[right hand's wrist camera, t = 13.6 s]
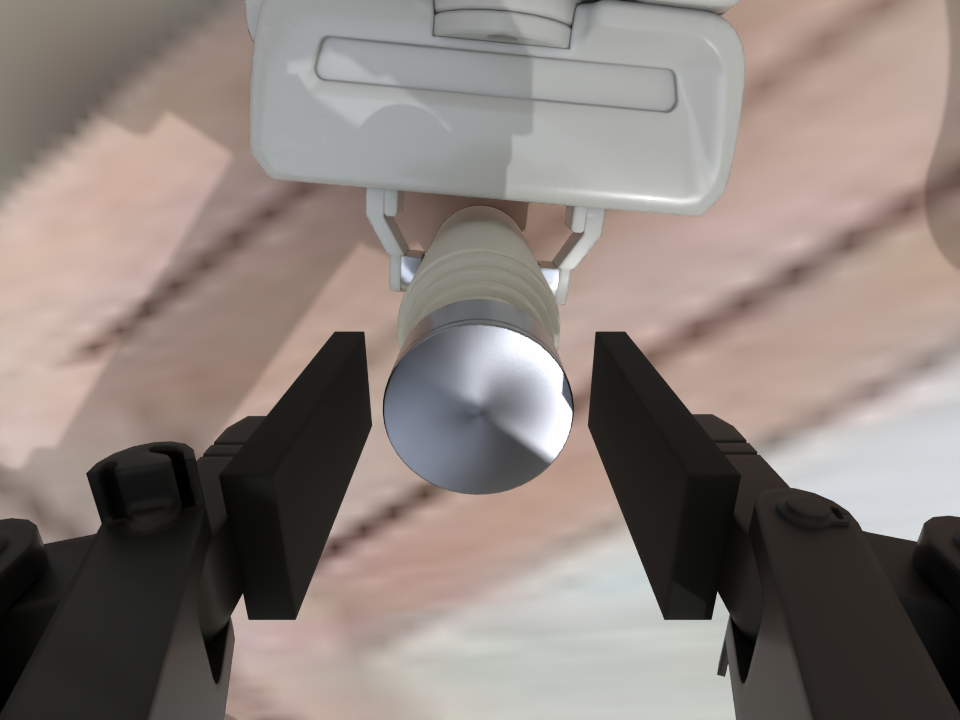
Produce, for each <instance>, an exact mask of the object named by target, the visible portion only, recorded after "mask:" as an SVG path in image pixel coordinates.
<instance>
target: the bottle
mask: <svg viewBox="0 0 960 720" xmlns="http://www.w3.org/2000/svg"><path fill="white" fill-rule="evenodd" d="M469 299H486V300H494V301H499V302H503V303H506V304H509V305H512V306H514V307H516V308H518V309H520V310H522V311H524V312H525V313H527V314H528V315H530V316H531V317H533V318H534V319H535V320H536V321H537V322H538V323H539V324H540V325H541V326H542V327H543V328H544V329H545V331H546V332H547V333H548V335H549V336H550V338H551V340H552V341H553V343H554V345H555V348H556V350H557V351H558V346H559V338H560V317H559V310H558V306H557V302H556V299H555V297H554V295H553V292H552V290H551V288H550V286H549V284H548V282H547V281H546V279H545V277H544V275H543V273H542V271H541V269H540V267H539V265H538V263H537V261H536V259H535V257H534V255H533V253H532V251H531V249H530V247H529V246H528V244H527V242H526V240H525V238H524V236H523V234H522V232H521V230H520V228H519V227H518V225H517V224H516V223H515V221H514V220H513V219H512V218H511V217H509V216H508V215H507V214H505V213H504V212H502V211H500V210H498V209H495V208H493V207H488V206H471V207H467V208H464V209H461V210H459V211H457V212H455V213H454V214H452V215H451V216H450V217H449V218H447V219H446V221H445V222H444V223H443V224H442V225H441V227H440V229H439V230H438V232H437V234H436V236H435V238H434V240H433V241H432V243H431V245H430V247H429V249H428V251H427V253H426V255H425V256H424V258H423V260H422V262H421V264H420V266H419V268H418V269H417V271H416V273H415V275H414V277H413V279H412V281H411V283H410V284H409V286H408V288H407V290H406V292H405V294H404V296H403V299H402V302H401V305H400V310H399V315H398V339H399V347H400V350H401V347H402V345H403V343H404V341H405V339H406V338H407V336H408V335H409V333H410V332H411V330H412V329H413V328H414V327H415V326H416V325H417V324H418V323H419V322H420V321H421V320H422V319H423V318H425V317H426V316H427V315H429V314H430V313H432V312H433V311H435V310H437V309H439V308H441V307H443V306H445V305H448V304H451V303H454V302H457V301H463V300H469Z"/></svg>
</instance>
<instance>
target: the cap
mask: <svg viewBox="0 0 960 720" xmlns="http://www.w3.org/2000/svg"><path fill="white" fill-rule="evenodd" d="M573 412H574V404H573V396H572V391H571V387H570V384H569V381H568V378H567V376H566V373H565V371H564V368H563V365H562V363H561V360H560V358H559V355H558V352H557V350H556V348H555V345H554V343H553V341H552V340H551V338H550V336H549V335H548V333H547V332H546V331H545V329H544V328H543V327H542V326H541V325H540V324H539V323H538V322H537V321H536V320H535V319H534V318H533V317H531V316H530V315H528V314H527V313H525V312H524V311H522V310H520V309H518V308H516V307H514V306H512V305H509V304H506V303H503V302H499V301H494V300H486V299H469V300H463V301H457V302H454V303H451V304H448V305H445V306H443V307H441V308H439V309H437V310H435V311H433V312H432V313H430V314H429V315H427V316H426V317H425V318H423V319H422V320H421V321H420V322H419V323H418V324H417V325H416V326H415V327H414V328H413V329H412V330H411V332H410V333H409V335H408V336H407V338H406V339H405V341H404V343H403V345H402V347H401V350H400V352H399V355H398V357H397V360H396V362H395V365H394V367H393V369H392V372H391V375H390V377H389V380H388V383H387V386H386V389H385V393H384V399H383V417H384V424H385V428H386V432H387V435H388V437H389V440H390V442H391V444H392V446H393V448H394V449H395V451H396V453H397V454H398V456H399V457H400V458H401V459H402V461H403V462H404V463H405V464H406V465H407V466H408V467H409V468H410V469H411V470H412V471H413V472H415V473H416V474H417V475H419V476H420V477H421V478H423V479H425V480H426V481H428V482H430V483H431V484H434V485H436V486H438V487H441V488H443V489H446V490H450V491H453V492H458V493H463V494H475V495H479V494H493V493H499V492H503V491H507V490H511V489H513V488H516V487H519V486H521V485H523V484H525V483H527V482H529V481H531V480H532V479H534V478H535V477H537V476H538V475H540V474H541V473H542V472H543V471H544V470H546V469H547V468H548V467H549V466H550V465H551V464H552V463H553V461H554V460H555V459H556V458H557V457H558V455H559V454H560V452H561V451H562V449H563V447H564V445H565V443H566V441H567V439H568V437H569V434H570V430H571V427H572V421H573Z"/></svg>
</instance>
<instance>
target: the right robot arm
mask: <svg viewBox="0 0 960 720" xmlns="http://www.w3.org/2000/svg"><path fill="white" fill-rule="evenodd" d="M371 427H372V419H371V407H370V395H369V383H368V371H367V359H366V347H365V334H364V332H334V333H333V335H332V336H331V337H330V338H329V340H328V341H327V342H326V343H325V345H324V346H323V347H322V348H321V349H320V351H319V352H318V353H317V354H316V356H315V357H314V358H313V359H312V361H311V362H310V363H309V364H308V366H307V367H306V368H305V369H304V371H303V372H302V373H301V374H300V375H299V377H298V378H297V379H296V380H295V382H294V383H293V384H292V385H291V387H290V388H289V389H288V390H287V392H286V393H285V394H284V395H283V397H282V398H281V399H280V400H279V401H278V403H277V404H276V405H275V406H274V408H273V409H272V410H271V411H270V413H269V414H268V415H267V416H247V417H246V418H244V419H242V420H240V421H239V422H237V423H235V424H233V425H232V426H230V427H228V428H227V429H226V430H225V431H224V432H223V433H222V434H221V435H220V436H219V437H218V438H217V440H216V441H215V442H214V445H211V446H210V447H209V448H208V449H207V450H206V452H205V453H204V454H203V457H200V458H199V459H198V460H197V461H196V459H195V454H194V450H193V449H192V448H190V447H189V446H188V445H186V444H183V443H177V442H172V441H171V442H153V443H148V444H143V445H139V446H134V447H131V448H128V449H125V450H123V451H120V452H117V453H114V454H112V455H110V456H109V457H107V458H105V459H103V460H102V461H100V462H98V463H97V464H96V465H94V466H93V467H92V468H91V469H90V470H89V471H88V472H87V473H86V474H87V477H88V481H89V484H90V487H91V490H92V493H93V497H94V500H95V503H96V506H97V509H98V513H99V516H100V519H101V522H102V524H101V526H100V528H99V530H98V532H97V534H93V535H89V536H84V537H79V538H73V539H68V540H63V541H58V542H53V543H48V544H43V541H42V539H41V536H40V533H39V531H38V528H37V526H36V525H35V524H33V523H32V522H31V521H29V520H25V519H14V518H11V519H3V520H0V720H224V716H225V709H226V701H227V694H228V686H229V679H230V672H231V664H232V657H233V649H234V642H235V637H234V630H233V625H232V620H231V614H232V612H233V611H234V609H235V607H236V605H237V603H238V601H239V599H240V598H241V596H242V594H243V595H244V600H245V605H246V610H247V614H248V619H249V620H296V617H297V615H298V612H299V610H300V607H301V605H302V602H303V600H304V597H305V594H306V592H307V589H308V587H309V584H310V582H311V579H312V577H313V574H314V572H315V569H316V567H317V564H318V561H319V559H320V556H321V554H322V551H323V549H324V546H325V544H326V541H327V539H328V536H329V534H330V531H331V529H332V526H333V523H334V521H335V518H336V516H337V513H338V511H339V508H340V506H341V503H342V501H343V498H344V496H345V493H346V490H347V488H348V485H349V483H350V480H351V478H352V475H353V473H354V470H355V468H356V465H357V463H358V460H359V457H360V455H361V452H362V450H363V447H364V445H365V442H366V440H367V437H368V435H369V432H370V430H371ZM588 427H589V430H590V432H591V435H592V437H593V440H594V442H595V445H596V447H597V450H598V452H599V455H600V457H601V460H602V463H603V465H604V468H605V470H606V473H607V475H608V478H609V480H610V483H611V485H612V488H613V490H614V493H615V496H616V498H617V501H618V503H619V506H620V508H621V511H622V513H623V516H624V518H625V521H626V523H627V526H628V528H629V531H630V534H631V536H632V539H633V541H634V544H635V546H636V549H637V551H638V554H639V556H640V559H641V561H642V564H643V567H644V569H645V572H646V574H647V577H648V579H649V582H650V584H651V587H652V589H653V592H654V594H655V597H656V599H657V602H658V605H659V607H660V610H661V612H662V615H663V617H664V620H711V619H712V614H713V610H714V605H715V600H716V595H717V591H718V593H719V595H720V597H721V598H722V600H723V602H724V604H725V606H726V608H727V610H728V611H729V613H730V616H729V620H728V625H727V629H726V634H725V638H724V642H723V647H722V651H721V656H720V660H719V666H718V673H717V675H720V676H724V677H725V674H726V670H727V665H728V664H729V670H730V678H731V685H732V692H733V700H734V707H735V715H736V720H960V517H954V516H941V517H933V518H931V519H930V520H928V521H927V522H925V523H924V525H923V528H922V531H921V533H920V536H919V539H918V542H915V541H910V540H905V539H900V538H894V537H889V536H884V535H879V534H874V533H869V532H865V531H862V529H861V527H860V525H859V523H858V522H857V521H856V520H855V519H854V517H853V516H852V515H851V514H850V513H849V512H848V511H847V510H845V509H844V508H842V507H841V506H839V505H838V504H836V503H835V502H833V501H831V500H829V499H827V498H824V497H822V496H820V495H817V494H815V493H812V492H807V491H803V490H799V489H795V488H790V487H789V486H788V485H787V484H786V483H785V482H784V481H783V479H782V478H781V477H780V476H779V475H778V474H777V473H776V472H775V471H774V470H773V469H772V468H771V466H770V465H769V464H768V463H767V462H766V461H765V460H764V459H763V458H762V457H761V456H760V455H757V451H756V450H755V449H754V448H753V447H752V446H751V445H750V444H749V443H746V439H745V438H744V437H743V436H742V435H741V434H740V433H739V432H738V431H737V430H736V429H735V427H734V426H732V425H730V424H728V423H727V422H725V421H723V420H721V419H720V418H718V417H716V416H714V415H713V414H691V413H690V411H689V410H688V409H687V408H686V406H685V405H684V404H683V403H682V401H681V400H680V399H679V398H678V397H677V395H676V394H675V393H674V392H673V390H672V389H671V388H670V387H669V385H668V384H667V383H666V382H665V380H664V379H663V378H662V377H661V375H660V374H659V373H658V372H657V371H656V369H655V368H654V367H653V366H652V364H651V363H650V362H649V361H648V359H647V358H646V357H645V356H644V354H643V353H642V352H641V351H640V349H639V348H638V347H637V346H636V345H635V343H634V342H633V341H632V340H631V338H630V337H629V336H628V335H627V333H626V332H596V335H595V347H594V359H593V371H592V383H591V395H590V407H589V419H588Z"/></svg>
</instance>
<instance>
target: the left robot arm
mask: <svg viewBox="0 0 960 720" xmlns="http://www.w3.org/2000/svg"><path fill="white" fill-rule="evenodd" d="M739 1H740V0H245V10H246V21H247V26H248V30H249V34H250V36H251V38H252V41H253V42H254V47H253V57H252V68H251V82H250V108H249V135H250V148H251V152H252V155H253V157H254V158H255V159H256V161H257V162H258V163H259V165H260V166H261V167H262V169H263V170H264V171H265V173H266V174H267V175H268V176H269V177H270V178H272V179H275V180H285V181H296V182H308V183H319V184H330V185H342V186H353V187H364V188H366V216H367V218H368V220H369V222H370V223H371V225H372V227H373V229H374V231H375V233H376V234H377V236H378V238H379V240H380V242H381V244H382V245H383V247H384V249H385V251H386V253H387V254H390V281H389V286H390V291H397V292H406V290H407V288H408V286H409V284H410V283H411V281H412V279H413V277H414V275H415V273H416V271H417V269H418V268H419V266H420V264H421V262H422V260H423V258H424V256H425V251H419V250H409V248H408V246H407V244H406V242H405V240H404V238H403V236H402V234H401V232H400V229H399V227H398V225H397V223H396V221H395V219H394V217H395V216H396V215H397V214H399V213H400V212H401V211H402V210H403V204H404V191H409V192H421V193H432V194H443V195H455V196H466V197H477V198H488V199H500V200H511V201H522V202H534V203H545V204H556V205H567V208H566V216H565V225H566V226H567V227H568V228H569V229H570V230H571V231H573V233H572V234H571V236H570V237H569V239H568V240H567V241H566V243H565V244H564V245H563V247H562V248H561V250H560V251H559V252H558V254H557V255H556V257H555V258H554V259H553V262H549V261H537V263H538V265H539V267H540V269H541V271H542V273H543V275H544V277H545V279H546V281H547V282H548V284H549V286H550V288H551V290H552V292H553V295H554V297H555V299H556V302H557V305H565V303H566V300H567V294H568V287H569V280H570V274H571V270H574V269H575V268H576V267H577V265H578V264H579V263H580V261H581V260H582V259H583V258H584V256H585V255H586V254H587V253H588V251H589V250H590V249H591V248H592V246H593V245H594V244H595V243H596V241H597V240H598V239H599V237H600V236H601V233H602V227H603V221H604V215H605V209H613V210H624V211H635V212H647V213H658V214H669V215H681V216H692V217H698V216H701V215H703V214H704V213H705V212H706V211H707V210H709V209H710V208H711V207H712V206H713V205H714V204H715V203H716V202H717V201H718V200H719V199H720V198H721V196H722V195H723V193H724V191H725V189H726V186H727V183H728V179H729V175H730V171H731V167H732V162H733V157H734V152H735V147H736V142H737V136H738V130H739V124H740V117H741V110H742V101H743V92H744V82H745V55H744V50H743V45H742V42H741V39H740V37H739V35H738V33H737V31H736V29H735V28H734V27H733V26H732V25H731V24H730V23H729V22H728V21H727V20H726V19H724V18H723V17H721V16H722V15H723V14H724V13H726V12H727V11H729V10H730V9H731V8H732V7H733V6H735V5H736V4H737V3H738V2H739Z"/></svg>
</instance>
